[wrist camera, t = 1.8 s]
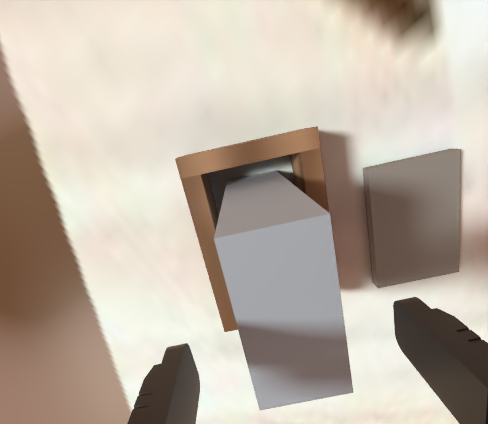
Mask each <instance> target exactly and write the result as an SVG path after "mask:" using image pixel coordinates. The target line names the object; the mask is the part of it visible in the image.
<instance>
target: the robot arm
mask: <svg viewBox="0 0 488 424" xmlns="http://www.w3.org/2000/svg"><path fill="white" fill-rule="evenodd" d="M393 307H394V324H395V336H396V340H397V342H398V345H399V347H400V348H401V350H402V352H403V353H404V354H405V356H406V357H407V358H408V359H409V361H410V362H411V363H412V364H413V366H414V367H415V368H416V369H417V371H418V372H419V373H420V374H421V376H422V377H423V378H424V379H425V381H426V382H427V383H428V384H429V386H430V387H431V388H432V389H433V391H434V392H435V393H436V394H437V396H438V397H439V398H440V400H441V401H442V402H443V403H444V405H445V406H446V407H447V408H448V410H449V411H450V412H451V413H452V415H453V416H454V417H455V418H456V420H457V421H458V422H459V423H460V424H488V343H487V342H485V341H484V340H481V338H480V337H479V336H478V335H477V334H475V333H474V332H473V331H472V330H469V328H468V327H467V326H466V325H464V324H463V323H462V322H461V321H459V320H458V319H457V318H456V317H454V316H452V315H450V314H448V313H446V312H444V311H442V310H440V309H437V308H436V309H431V308H429V307H428V306H427V305H426V304H425V303H424V302H423V301H421V300H420V299H419V298H417V297H413V298H408V299H403V300H398V301H395V302H394V305H393ZM199 393H200V381H199V374H198V371H197V368H196V365H195V362H194V359H193V356H192V353H191V350H190V347H189V345H188V344H187V343H186V344H181V345H176V346H171V347H168V348H167V349H166V351H165V354H164V357H163V360H162V363H161V364H158V365H154V366H153V368H152V369H151V370H150V372H149V373H148V374H147V376H146V377H145V379H144V381H143V384H142V386H141V389H140V392H139V396H138V397H137V400H136V402H135V405H134V409H133V410H132V413H131V416H130V418H129V421H128V424H195V423H196V415H197V408H198V401H199Z"/></svg>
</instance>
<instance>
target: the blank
mask: <svg viewBox="0 0 488 424" xmlns="http://www.w3.org/2000/svg"><path fill="white" fill-rule="evenodd" d="M214 241H215V245H216V249H217V252H218V256H219V260H220V264H221V267H222V271H223V275H224V278H225V282H226V286H227V290H228V293H229V297H230V301H231V305H232V308H233V312H234V316H235V319H236V323H237V327H238V331H239V334H240V338H241V342H242V345H243V349H244V353H245V357H246V360H247V364H248V368H249V372H250V375H251V379H252V383H253V386H254V390H255V394H256V398H257V401H258V405H259V409H260V410H264V409H270V408H275V407H280V406H285V405H290V404H296V403H301V402H306V401H311V400H316V399H322V398H327V397H332V396H337V395H342V394H348V393H353V387H352V379H351V371H350V364H349V356H348V348H347V340H346V333H345V325H344V317H343V310H342V302H341V294H340V287H339V279H338V271H337V264H336V256H335V248H334V241H333V233H332V225H331V218H330V213H328V212H327V211H326V210H325V209H323V208H322V207H321V206H320V205H318V204H317V203H316V202H315V201H313V200H312V199H311V198H310V197H308V196H307V195H306V194H305V193H303V192H302V191H301V190H300V189H298V188H297V187H296V186H295V185H293V184H292V183H291V182H290V181H288V180H287V179H286V178H285V177H283V176H282V175H281V174H280V173H278V172H277V171H276V170H275V171H271V172H266V173H262V174H257V175H253V176H248V177H243V178H239V179H234V180H230V181H227V183H226V187H225V192H224V196H223V200H222V205H221V209H220V214H219V218H218V223H217V227H216V231H215V236H214Z"/></svg>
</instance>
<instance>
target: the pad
mask: <svg viewBox="0 0 488 424" xmlns="http://www.w3.org/2000/svg"><path fill="white" fill-rule="evenodd" d="M460 164H461V149H448V150H443V151H438V152H434V153H429V154H425V155H420V156H416V157H411V158H407V159H402V160H397V161H393V162H388V163H384V164H379V165H375V166H370V167H366V168H363V177H364V188H365V199H366V211H367V222H368V233H369V244H370V256H371V267H372V278H373V283H374V284H375V285H376V287H377V288H381V287H386V286H391V285H396V284H401V283H406V282H411V281H415V280H420V279H425V278H430V277H435V276H440V275H445V274H450V273H455V272H459V226H460Z"/></svg>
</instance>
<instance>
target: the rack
mask: <svg viewBox="0 0 488 424" xmlns="http://www.w3.org/2000/svg"><path fill="white" fill-rule="evenodd" d="M285 155H290V157H291V163H292V169H293V175H294V181H295V186H296V187H297V188H298V189H300V190H301V191H302V192H303V193H305V194H306V195H307V196H308V197H310V198H311V199H312V200H313V201H315V202H316V203H317V204H318V205H320V206H321V207H322V208H323V209H325V210H326V211H327V212H328V213H329V209H328V202H327V194H326V186H325V179H324V171H323V164H322V156H321V148H320V141H319V133H318V127H311V128H305V129H300V130H296V131H291V132H287V133H282V134H278V135H274V136H269V137H265V138H260V139H256V140H251V141H247V142H243V143H238V144H234V145H229V146H225V147H220V148H216V149H212V150H207V151H203V152H198V153H194V154H189V155H185V156H182V157H179V158H176V159H175V160H176V164H177V167H178V171H179V174H180V178H181V181H182V185H183V188H184V192H185V195H186V198H187V202H188V205H189V209H190V212H191V216H192V219H193V223H194V226H195V230H196V233H197V237H198V240H199V244H200V247H201V251H202V254H203V258H204V261H205V265H206V268H207V272H208V275H209V279H210V282H211V286H212V289H213V293H214V296H215V300H216V303H217V307H218V310H219V314H220V317H221V321H222V324H223V327H224V331H225V332H228V331H232V330H237V329H238V327H237V323H236V319H235V316H234V312H233V308H232V305H231V301H230V297H229V293H228V290H227V286H226V282H225V278H224V275H223V271H222V267H221V264H220V260H219V256H218V252H217V249H216V245H215V241H214V236H215V231H216V227H217V223H218V218H219V215H218V211H217V207H216V203H215V200H214V196H213V192H212V188H211V184H210V180H209V176H208V173H209V172H214V171H218V170H223V169H227V168H232V167H236V166H241V165H245V164H250V163H254V162H259V161H263V160H268V159H272V158H277V157H281V156H285Z"/></svg>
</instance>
